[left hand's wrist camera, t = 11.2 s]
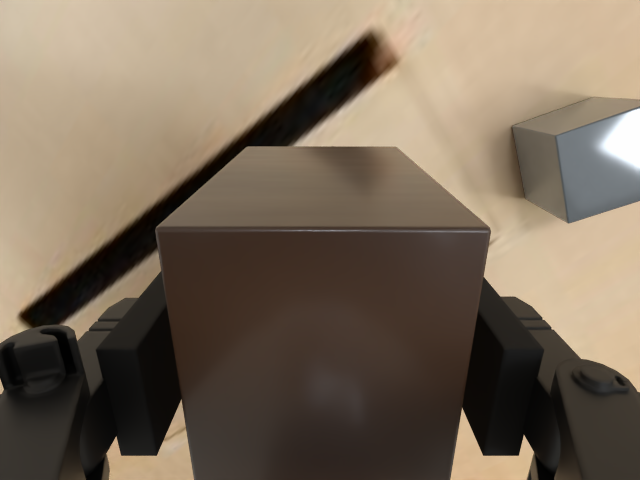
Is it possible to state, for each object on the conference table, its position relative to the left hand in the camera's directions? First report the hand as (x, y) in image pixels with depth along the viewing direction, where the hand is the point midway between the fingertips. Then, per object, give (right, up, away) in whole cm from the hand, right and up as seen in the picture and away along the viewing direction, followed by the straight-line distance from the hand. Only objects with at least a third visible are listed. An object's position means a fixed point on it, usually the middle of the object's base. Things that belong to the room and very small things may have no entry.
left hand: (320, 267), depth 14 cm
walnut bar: (0, -8, +4) cm, 9 cm away
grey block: (+15, +7, +11) cm, 20 cm away
